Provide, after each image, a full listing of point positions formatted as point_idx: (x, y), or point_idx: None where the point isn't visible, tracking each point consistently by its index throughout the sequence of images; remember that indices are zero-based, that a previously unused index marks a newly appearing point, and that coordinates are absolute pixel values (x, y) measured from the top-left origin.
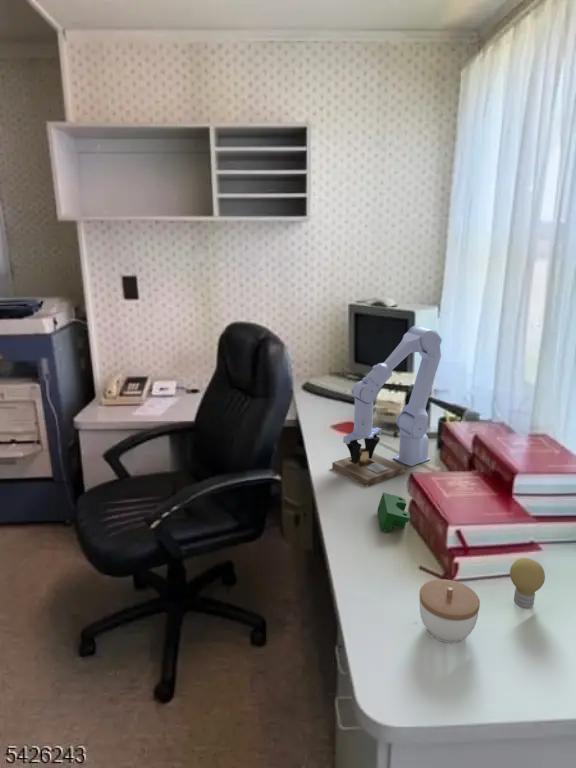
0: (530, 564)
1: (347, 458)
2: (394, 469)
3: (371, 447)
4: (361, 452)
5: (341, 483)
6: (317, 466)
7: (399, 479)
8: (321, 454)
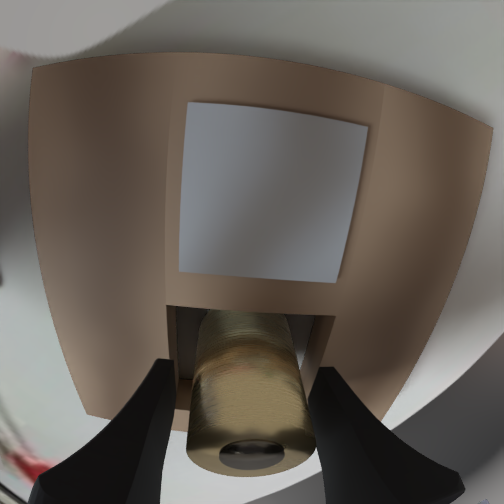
0: None
1: None
2: (141, 70)
3: (149, 447)
4: (309, 435)
5: (495, 258)
6: None
7: (189, 5)
8: (269, 478)
